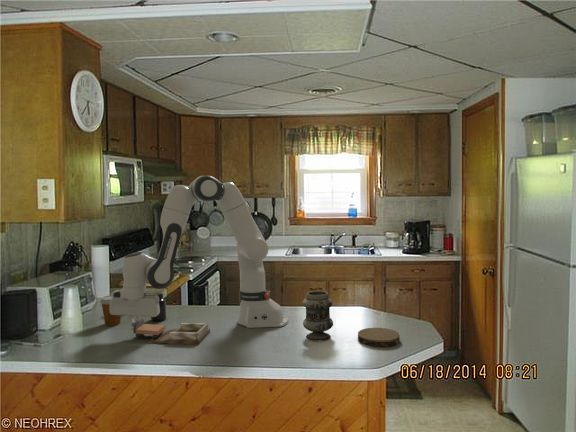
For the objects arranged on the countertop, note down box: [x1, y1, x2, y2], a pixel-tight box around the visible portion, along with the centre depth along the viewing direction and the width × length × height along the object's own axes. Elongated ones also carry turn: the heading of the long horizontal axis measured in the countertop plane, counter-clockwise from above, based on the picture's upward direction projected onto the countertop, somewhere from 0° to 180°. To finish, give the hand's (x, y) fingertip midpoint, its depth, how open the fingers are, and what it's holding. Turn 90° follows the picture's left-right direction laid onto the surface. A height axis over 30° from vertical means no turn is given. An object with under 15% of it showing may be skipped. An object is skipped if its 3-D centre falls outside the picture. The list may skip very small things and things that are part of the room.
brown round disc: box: [357, 327, 401, 349], centre depth 189 cm, size 16×16×3 cm
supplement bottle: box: [150, 292, 167, 322], centre depth 222 cm, size 7×7×12 cm
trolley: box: [132, 318, 166, 339], centre depth 197 cm, size 10×8×6 cm
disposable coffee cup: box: [100, 294, 122, 327], centre depth 216 cm, size 10×10×12 cm
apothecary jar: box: [302, 290, 334, 342], centre depth 193 cm, size 12×12×18 cm
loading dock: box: [146, 322, 211, 346], centre depth 196 cm, size 21×15×5 cm
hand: (134, 326), depth 198 cm, fingers closed
